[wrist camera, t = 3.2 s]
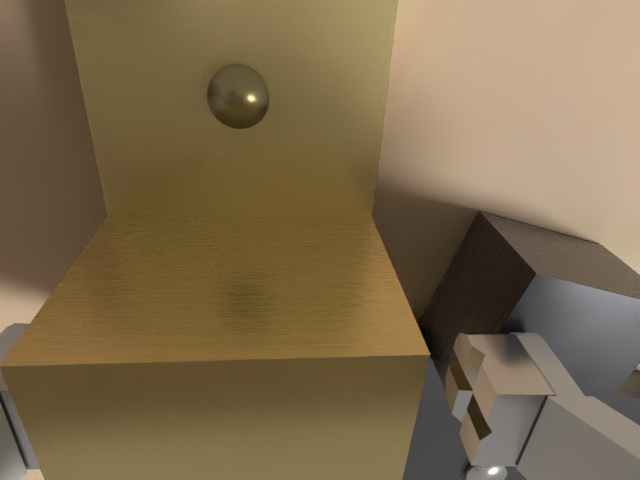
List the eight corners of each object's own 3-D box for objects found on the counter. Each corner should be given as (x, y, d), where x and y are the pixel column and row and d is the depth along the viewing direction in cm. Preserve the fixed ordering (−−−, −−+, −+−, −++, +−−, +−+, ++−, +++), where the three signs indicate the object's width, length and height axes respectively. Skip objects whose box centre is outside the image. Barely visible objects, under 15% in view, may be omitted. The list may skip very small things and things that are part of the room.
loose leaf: (148, 322, 11) (68, 537, 7) (87, -33, 7) (-170, -59, 3) (348, 318, 12) (393, 516, 7) (383, -16, 8) (514, -17, 4)
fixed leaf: (318, 483, 15) (326, 572, 13) (460, 205, 10) (513, 267, 8) (669, 523, 18) (724, 598, 16) (895, 327, 14) (1018, 395, 11)
